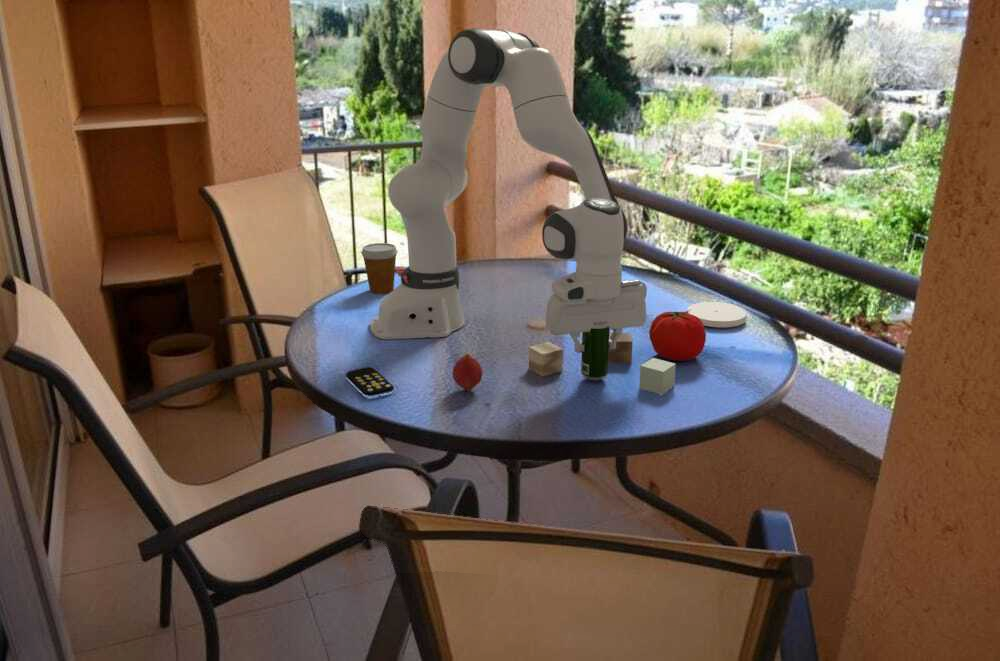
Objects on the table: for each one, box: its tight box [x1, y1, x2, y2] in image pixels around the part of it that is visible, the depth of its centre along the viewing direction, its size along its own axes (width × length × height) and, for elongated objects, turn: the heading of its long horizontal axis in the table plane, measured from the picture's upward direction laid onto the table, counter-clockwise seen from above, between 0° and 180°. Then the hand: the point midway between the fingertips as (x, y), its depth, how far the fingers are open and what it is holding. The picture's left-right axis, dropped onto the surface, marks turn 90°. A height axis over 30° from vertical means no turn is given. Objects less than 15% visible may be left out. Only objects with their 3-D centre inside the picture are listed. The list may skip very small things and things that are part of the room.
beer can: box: [580, 322, 611, 381], centre depth 167 cm, size 5×5×12 cm
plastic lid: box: [686, 301, 748, 328], centre depth 202 cm, size 14×14×2 cm
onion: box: [452, 352, 483, 392], centre depth 164 cm, size 6×6×8 cm
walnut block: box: [608, 332, 633, 364], centre depth 179 cm, size 5×5×5 cm
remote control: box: [345, 366, 395, 396], centre depth 168 cm, size 6×13×2 cm, turn 30°
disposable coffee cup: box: [360, 242, 398, 295], centre depth 224 cm, size 10×10×12 cm
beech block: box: [528, 341, 564, 377], centre depth 174 cm, size 5×5×5 cm
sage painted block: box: [638, 357, 677, 395], centre depth 165 cm, size 5×5×5 cm
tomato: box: [648, 309, 707, 362], centre depth 179 cm, size 12×12×10 cm
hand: (595, 349), depth 167 cm, fingers closed on beer can, 5 cm apart
